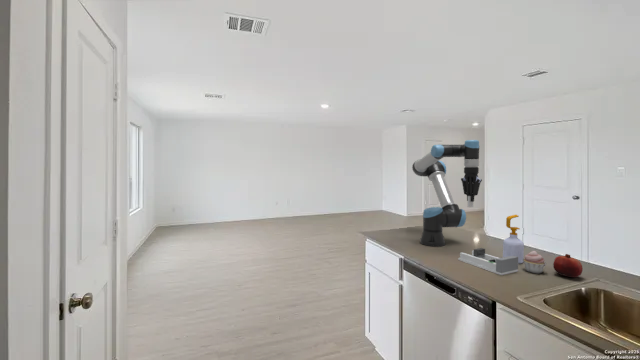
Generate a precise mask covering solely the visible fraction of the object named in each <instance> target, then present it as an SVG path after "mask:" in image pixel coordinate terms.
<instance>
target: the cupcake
mask: <svg viewBox="0 0 640 360" xmlns="http://www.w3.org/2000/svg"><path fill="white" fill-rule="evenodd" d="M523 264H524V268H525V271H526V272H529V273H531V274H542V273H543V272H544V268H545V267H546V265H547V263H546V262H545V259H544V258H543V256H542V254H539V253H538V252H537V251H536V250H531V251H530V252H528V253H527V254H525V255H524V259H523Z"/></svg>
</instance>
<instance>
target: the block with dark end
mask: <svg viewBox="0 0 640 360" xmlns="http://www.w3.org/2000/svg"><path fill="white" fill-rule="evenodd" d="M473 250H474V255H473V256H475V257H478V258H482V259H485V260H488V261H489V262H495V263H496V259H498V258H499V257H498V258H495V257H496V256H494V257H491V256H492V255H491V256H488V255H489V254H488V255H485V254H486V248H484V247H479V248H478V247H477V248H473Z"/></svg>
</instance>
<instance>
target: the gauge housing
mask: <svg viewBox="0 0 640 360" xmlns="http://www.w3.org/2000/svg"><path fill="white" fill-rule="evenodd" d="M473 255H474V249H473V250H471V254H469V253H466V252H459V257H457V260H458V261H460V262H463V263H466V264H468V265H471V266H474V267H477V268H480V269H483V270H484V271H485V270H486V271H488V272H491V273H493V274H497V275H499V276H503V275H509V274H513V273H517V272H519V263H518V257H517V256H508V257H503V256H502V257H497V256H494V255H491V254H488V253H485V255H488V256H491V257H495V258H498V259H496V263H495V262H489V261H488V260H485V259H482V258H478V257H475V256H473Z"/></svg>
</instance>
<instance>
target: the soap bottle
mask: <svg viewBox="0 0 640 360" xmlns="http://www.w3.org/2000/svg"><path fill="white" fill-rule="evenodd" d="M514 218H519V215H518V214H512V215H508V216H506V220H505V221H506V222H505V226H506V228H508V229H510V231H511V232H509V237H506V238H505V239H503V241H502V247H503V248H502V258H503V257H508V256H517V257H518V264H522V263H523V264H524V262H523V259H525V255H524V254H525V253H524V252H525V250H524V249H525V244H524V241H523V240H521V239H520V238H519V237H518V233H517V232H516V231H518V230H521V228H520V227H517V226H511V220H513V219H514Z"/></svg>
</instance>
